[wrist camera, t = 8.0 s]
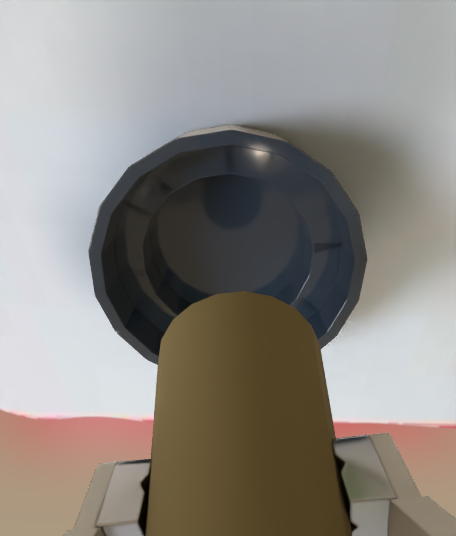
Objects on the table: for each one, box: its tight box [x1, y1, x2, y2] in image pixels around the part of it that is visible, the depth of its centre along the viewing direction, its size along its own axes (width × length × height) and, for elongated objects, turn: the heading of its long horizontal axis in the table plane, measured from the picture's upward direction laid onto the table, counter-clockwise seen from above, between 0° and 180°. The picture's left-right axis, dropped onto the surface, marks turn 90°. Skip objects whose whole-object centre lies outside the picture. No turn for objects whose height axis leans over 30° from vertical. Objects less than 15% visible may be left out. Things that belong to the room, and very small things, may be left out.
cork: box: [145, 291, 352, 536], centre depth 8 cm, size 6×6×11 cm
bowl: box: [89, 125, 367, 365], centre depth 22 cm, size 15×16×6 cm
